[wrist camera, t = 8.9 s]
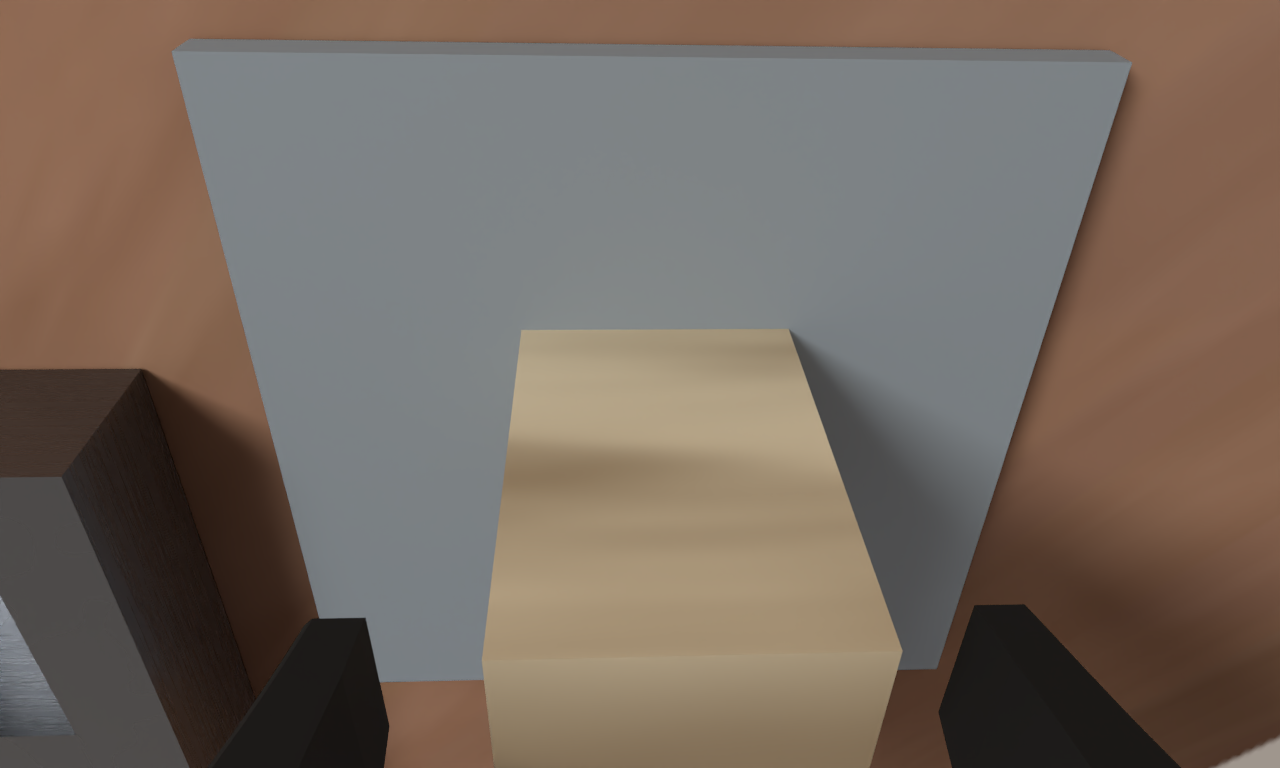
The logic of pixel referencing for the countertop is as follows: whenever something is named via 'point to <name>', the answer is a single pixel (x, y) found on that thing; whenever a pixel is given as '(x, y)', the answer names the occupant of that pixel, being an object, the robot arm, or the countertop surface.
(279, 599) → the countertop surface
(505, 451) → the mat
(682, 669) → the peg
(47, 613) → the tray
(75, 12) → the countertop surface
